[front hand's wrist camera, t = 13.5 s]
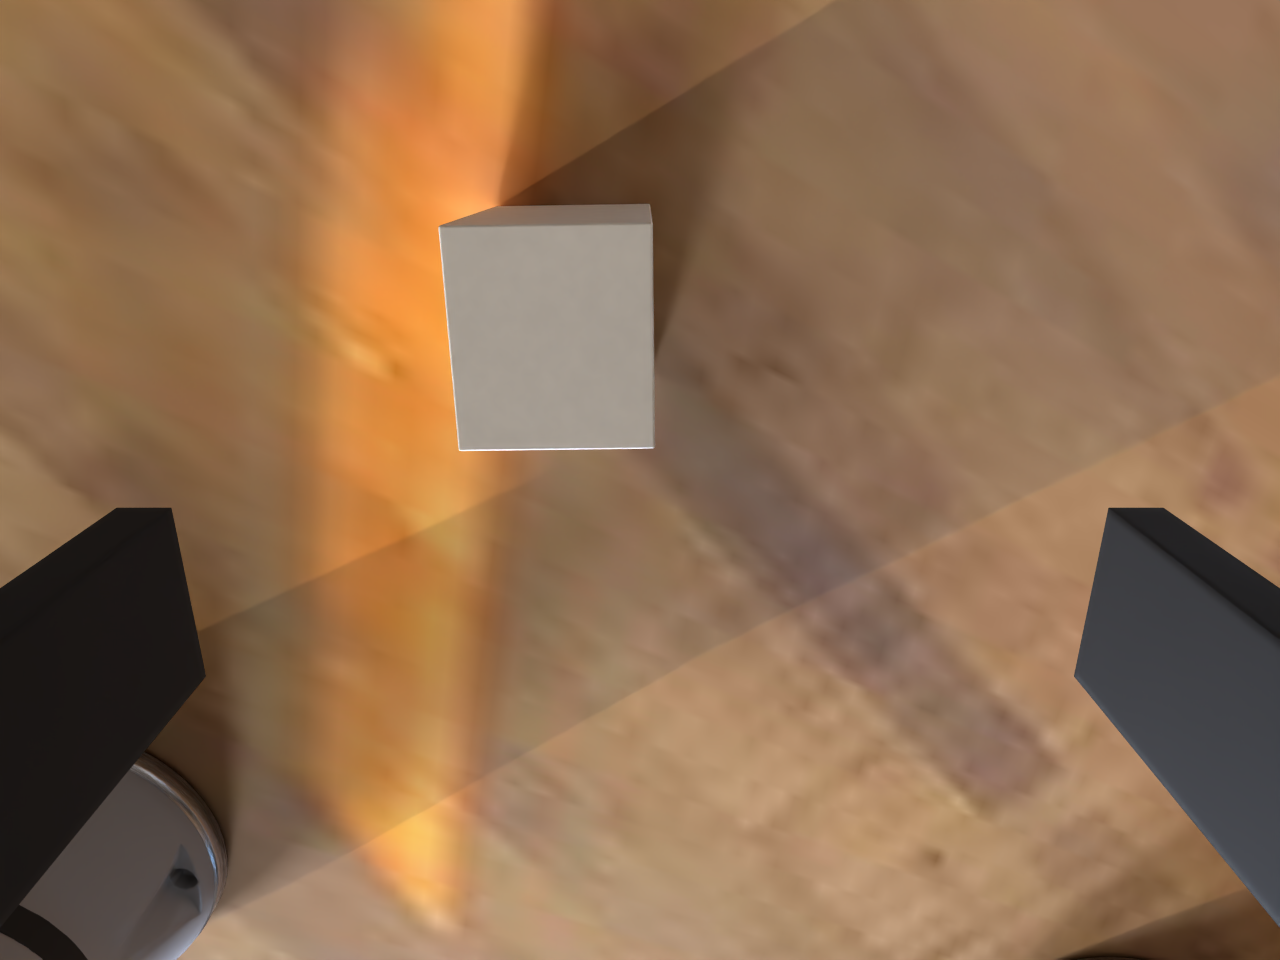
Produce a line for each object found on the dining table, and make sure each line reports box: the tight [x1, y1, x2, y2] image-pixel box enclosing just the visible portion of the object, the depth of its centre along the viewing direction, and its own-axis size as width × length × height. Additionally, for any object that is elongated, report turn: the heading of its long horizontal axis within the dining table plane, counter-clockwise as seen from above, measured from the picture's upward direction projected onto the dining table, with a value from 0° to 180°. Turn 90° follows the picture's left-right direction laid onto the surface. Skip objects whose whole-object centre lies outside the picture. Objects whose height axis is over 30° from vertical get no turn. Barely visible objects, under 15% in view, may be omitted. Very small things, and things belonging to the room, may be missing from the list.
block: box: [439, 204, 655, 451], centre depth 32 cm, size 7×6×11 cm
